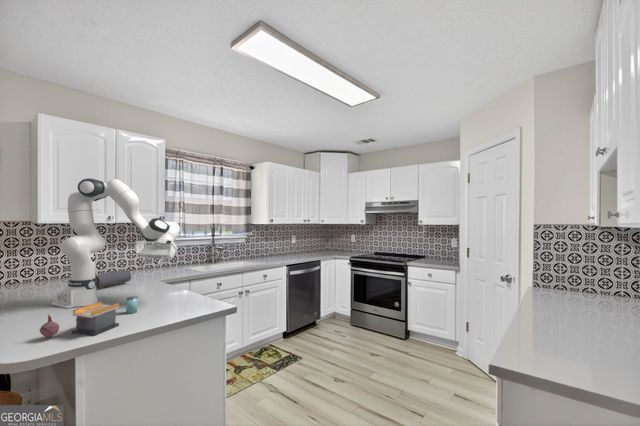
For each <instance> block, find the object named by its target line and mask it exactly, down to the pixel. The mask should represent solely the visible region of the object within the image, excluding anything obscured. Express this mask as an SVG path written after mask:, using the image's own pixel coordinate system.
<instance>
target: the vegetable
mask: <svg viewBox="0 0 640 426" xmlns="http://www.w3.org/2000/svg"><path fill="white" fill-rule="evenodd" d="M47 319H48V320H47V322H45V323H44V324H42V325H41V326H40V328H39V333H40V335H42V336H43V337H45V338H46V339H49V338H52V337H53V336H55V335H56V334H57V333H59V330H60V325H59V323H57V322H55V321H53V320H52V316H51V315H50V314H47Z"/></svg>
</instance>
